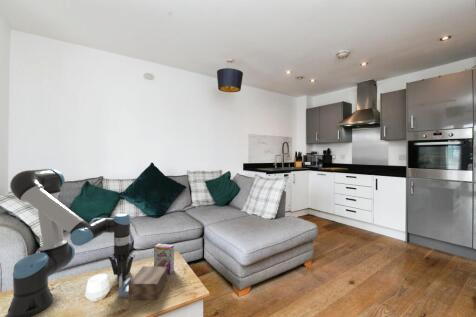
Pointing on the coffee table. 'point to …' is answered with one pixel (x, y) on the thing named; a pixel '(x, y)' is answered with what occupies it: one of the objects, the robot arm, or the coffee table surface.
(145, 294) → the wooden box
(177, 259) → the coffee table surface
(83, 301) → the coffee table surface
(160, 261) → the candy bar box
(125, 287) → the tray
